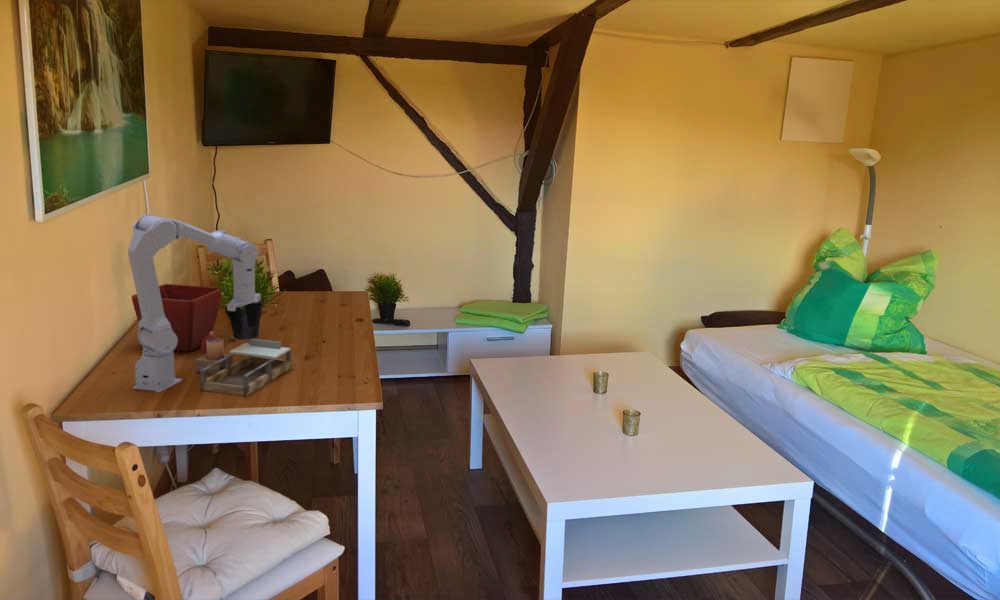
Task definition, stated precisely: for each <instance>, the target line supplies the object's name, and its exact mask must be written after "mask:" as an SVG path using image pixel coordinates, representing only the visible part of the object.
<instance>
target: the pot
mask: <svg viewBox="0 0 1000 600" xmlns="http://www.w3.org/2000/svg"><path fill="white" fill-rule="evenodd" d="M206 345H207V359H209V360H220V359H223V358H224V354H225V349H224V348H225V347H224V339H223V338H220V337H219V338H212V339H208V340H206Z"/></svg>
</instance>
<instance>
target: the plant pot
mask: <svg viewBox="0 0 1000 600" xmlns="http://www.w3.org/2000/svg"><path fill="white" fill-rule="evenodd" d="M218 288H219V287H215V286H214V287H213V286H200V285H186V284H172V283H165V284H160V285H159V290H160V295H161V299H162V304H163V309H164V314H165V317H166V318H167V320H168V321H169V323H170V324H171V328H172V331H173V332H174V333H175V334H176V336H177V339H178V343H177V346H176V348H175V349H174V350H173V351H180V352H191V351H193V350H195V349H198V348H199V347H201V344H202V341H203V339H204V338H205V337H206V336H208V335H209V333H210V332H212V331H213V332H214V328H215V325H216V321H217V317H218V313H219V309H220V304H221V299H222V298H221V297H222V292H221V290H220V289H218ZM131 300H132V304H133V309H134V311H135V315H136V318H137V321H138V322H139V321H140V320H141V319H142V315H141V311H140V306H139V302H138V297H137V293H136V294H132V295H131Z"/></svg>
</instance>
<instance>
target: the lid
mask: <svg viewBox="0 0 1000 600" xmlns="http://www.w3.org/2000/svg"><path fill="white" fill-rule="evenodd" d="M288 351H291V348H290V347H286V346H285V347H282V342H281V341H276V340H275V341H274V340H267V339H258V338H250V339H249V342H245V343H242V344H241V345H238V346H237V347H235V348H233V349H231V350H230V351H229V354H235V355H240V356H247V355H248V356H256V357H264V358H272V359H276V358H277V359H279V358H280V357H282V356H283V354H284V353H285V354H286V352H288ZM285 354H284V355H285ZM281 355H282V356H281ZM279 356H280V357H279ZM278 357H279V358H278Z"/></svg>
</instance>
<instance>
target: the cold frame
mask: <svg viewBox="0 0 1000 600" xmlns="http://www.w3.org/2000/svg"><path fill="white" fill-rule="evenodd" d="M228 355H229V356H227V357H225V358H223V359H221V360H219V361H217V362H216V363H214V364H212V365H210V366H208V367H206V368H204V369H202V370H201V371H200V373H199V376H200V390H201V391H205V392H212V393H220V394H227V395H232V396H233V395H234V396H242V397H248V396H249V395H251V394H254V392H256V391H257V390H259V389H260V388H262V387H264V386H265V385H267V384H268V383H270V382H272V381H273V380H275V379H276V378H277V377H279V376H280V375H282V374H284V373H285V372H287V371H288V370H290V369H292V350H290V351H288V352H286V353H284V354H283V355H285V359H283V358H280V357H282V356H283V355H281V356H279V357H278V358H276V359H272V358H264V357H256V356H248V355H246V356H245V357H243V358H242V359H240V360H238V361H236V362H234V363H233V364H232V365H231V363H230V357H231V356H232V357H233V356H235V355H236V354H232V353H230V354H228ZM224 360H225V369H223V370H221V371H219V372H218V373H216V374H214V375H213V374H211V375H210V376H208V377H207V374H206V370H207V369H209V368H211V367H213V366H214V365H216V364H218V363H220V362H222V361H224Z"/></svg>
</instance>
